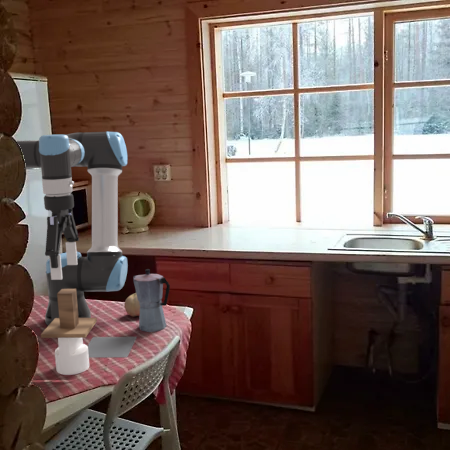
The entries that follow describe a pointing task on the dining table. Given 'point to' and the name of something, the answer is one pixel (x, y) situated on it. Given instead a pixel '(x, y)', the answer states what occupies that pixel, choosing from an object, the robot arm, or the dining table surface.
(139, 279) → the moka pot
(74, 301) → the walnut lid
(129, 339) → the rubber mat
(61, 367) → the cylinder with rectangular tab
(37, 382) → the dining table surface
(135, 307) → the fruit
